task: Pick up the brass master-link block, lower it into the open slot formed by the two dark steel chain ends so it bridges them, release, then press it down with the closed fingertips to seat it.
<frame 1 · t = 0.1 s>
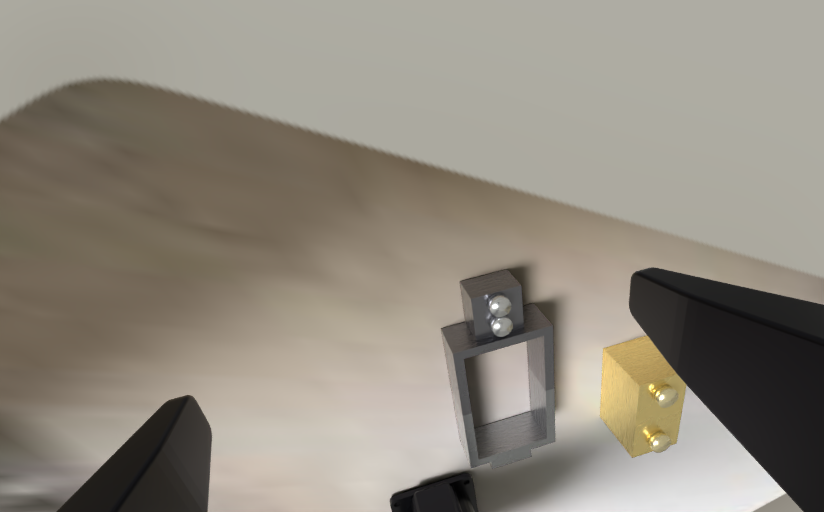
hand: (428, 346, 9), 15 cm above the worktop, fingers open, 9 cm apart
chain ends: (494, 375, 30), on the worktop
master link: (621, 376, 33), on the worktop
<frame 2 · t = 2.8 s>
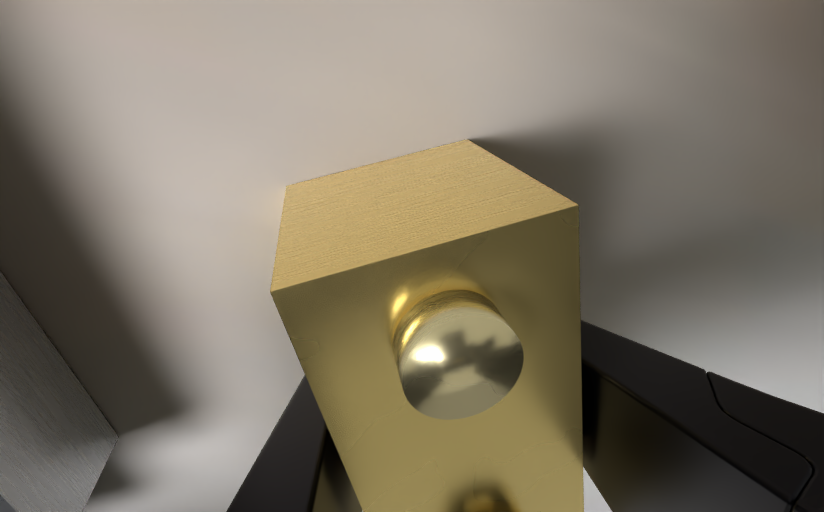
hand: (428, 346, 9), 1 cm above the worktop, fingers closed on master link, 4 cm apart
master link: (413, 308, 10), on the worktop, touching gripper
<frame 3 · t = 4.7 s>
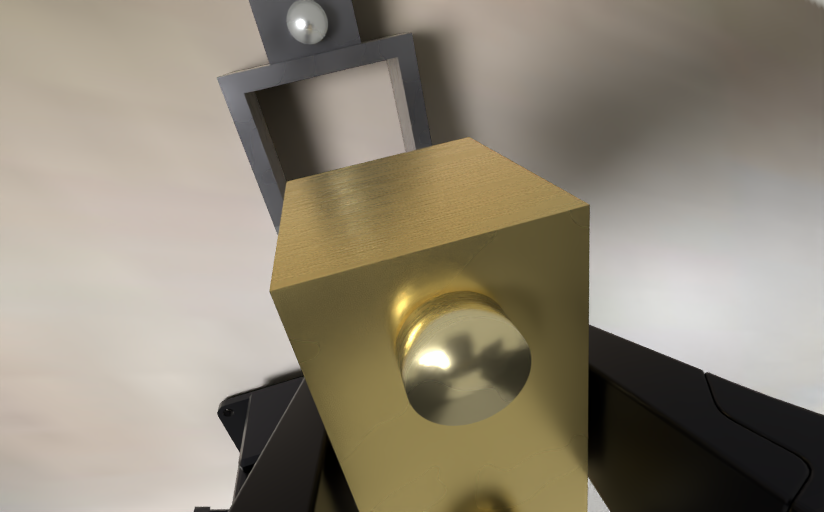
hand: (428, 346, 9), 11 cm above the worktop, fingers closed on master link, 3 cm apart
chain ends: (352, 185, 18), on the worktop
master link: (414, 310, 10), point 10 cm above the worktop, touching gripper
when the fingers open (3 cm above the worktop, at t = 6.4 s): master link drops 2 cm, resting in chain ends.
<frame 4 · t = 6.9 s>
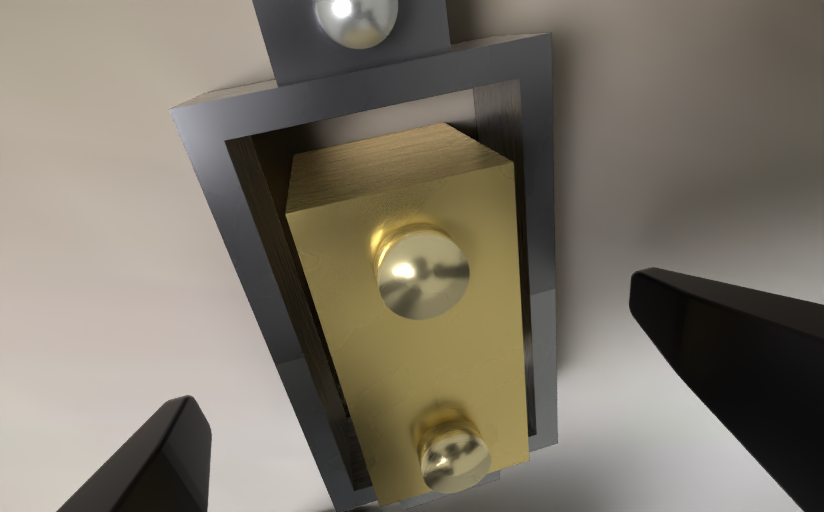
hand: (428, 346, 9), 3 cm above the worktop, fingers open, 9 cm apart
chain ends: (399, 271, 11), on the worktop
master link: (396, 267, 12), resting in chain ends
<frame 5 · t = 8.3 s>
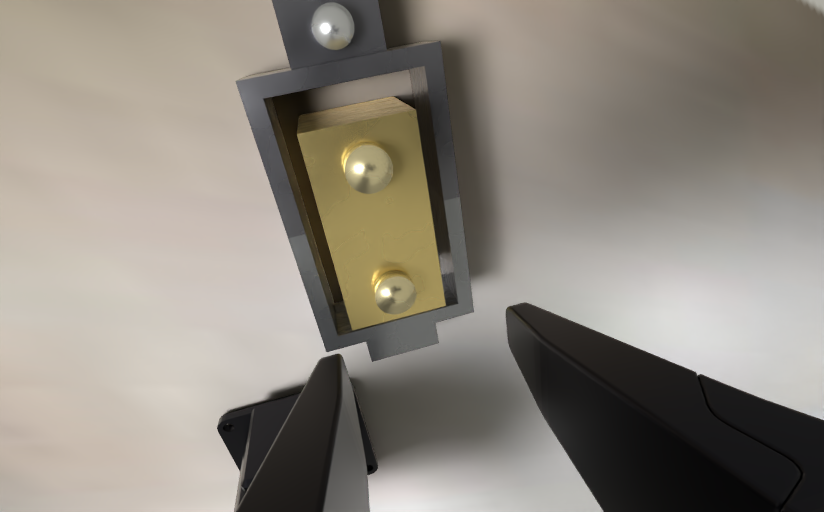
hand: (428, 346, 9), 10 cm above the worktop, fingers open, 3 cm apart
chain ends: (367, 195, 17), on the worktop
master link: (366, 194, 18), resting in chain ends
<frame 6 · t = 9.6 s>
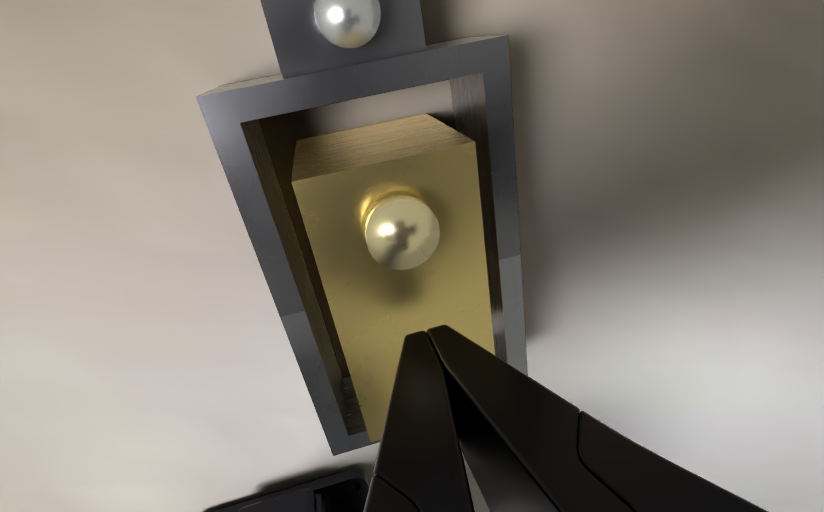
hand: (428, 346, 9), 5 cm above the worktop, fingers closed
chain ends: (388, 244, 13), on the worktop
master link: (386, 242, 13), resting in chain ends
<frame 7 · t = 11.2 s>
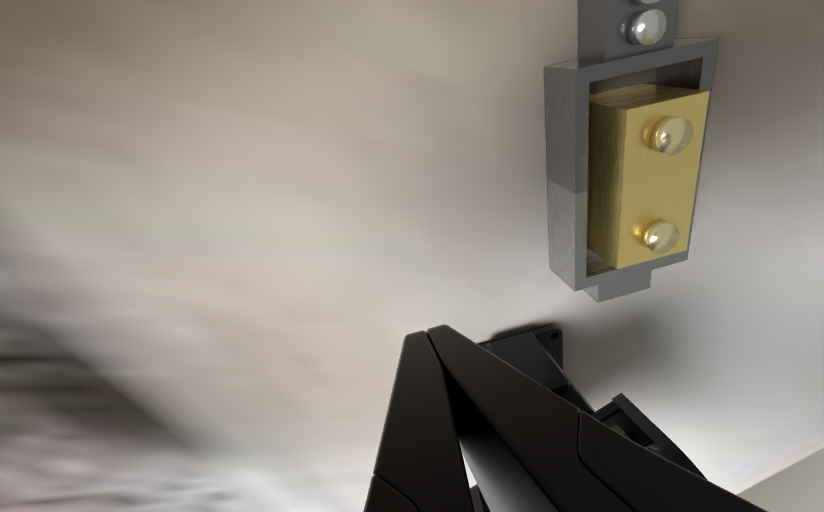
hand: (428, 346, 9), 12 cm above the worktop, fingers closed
chain ends: (605, 164, 21), on the worktop
master link: (602, 164, 22), resting in chain ends
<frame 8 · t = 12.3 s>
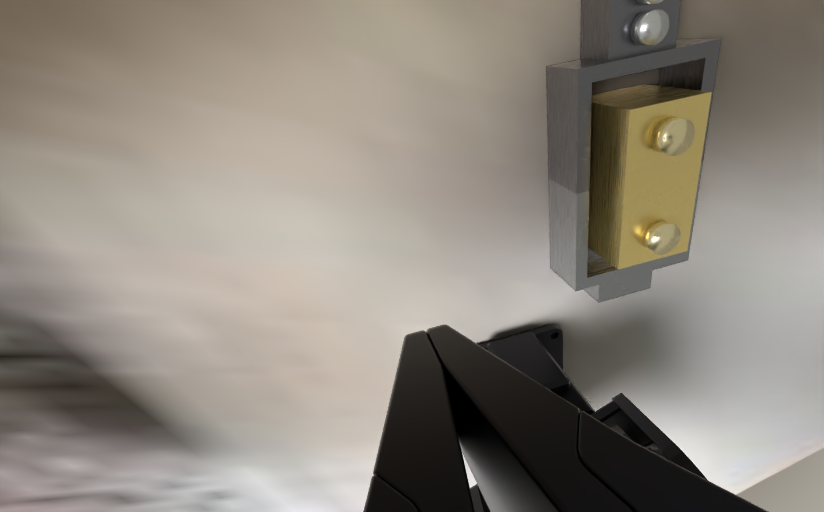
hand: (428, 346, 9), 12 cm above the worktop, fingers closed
chain ends: (606, 164, 21), on the worktop
master link: (603, 164, 22), resting in chain ends
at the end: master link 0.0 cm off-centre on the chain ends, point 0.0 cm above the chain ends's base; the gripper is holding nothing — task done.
